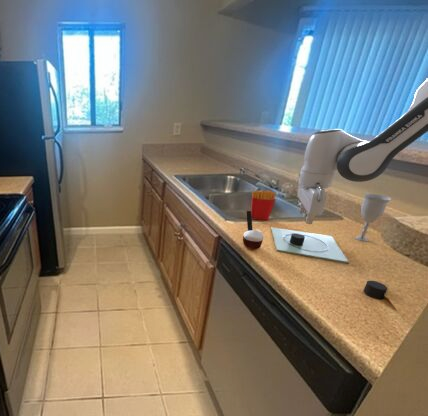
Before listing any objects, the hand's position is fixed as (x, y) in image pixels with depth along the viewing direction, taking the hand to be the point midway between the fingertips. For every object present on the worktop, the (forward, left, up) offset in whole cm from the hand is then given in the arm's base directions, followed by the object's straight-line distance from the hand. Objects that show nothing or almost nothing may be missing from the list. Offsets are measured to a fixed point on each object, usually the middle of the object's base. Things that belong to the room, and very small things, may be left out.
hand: (305, 218), depth 95 cm
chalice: (-20, -10, -11) cm, 25 cm away
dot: (-13, +24, -11) cm, 29 cm away
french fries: (+12, -22, -11) cm, 27 cm away
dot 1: (+1, 0, -10) cm, 10 cm away
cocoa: (+16, +8, -11) cm, 21 cm away
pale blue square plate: (-2, -2, -11) cm, 11 cm away
